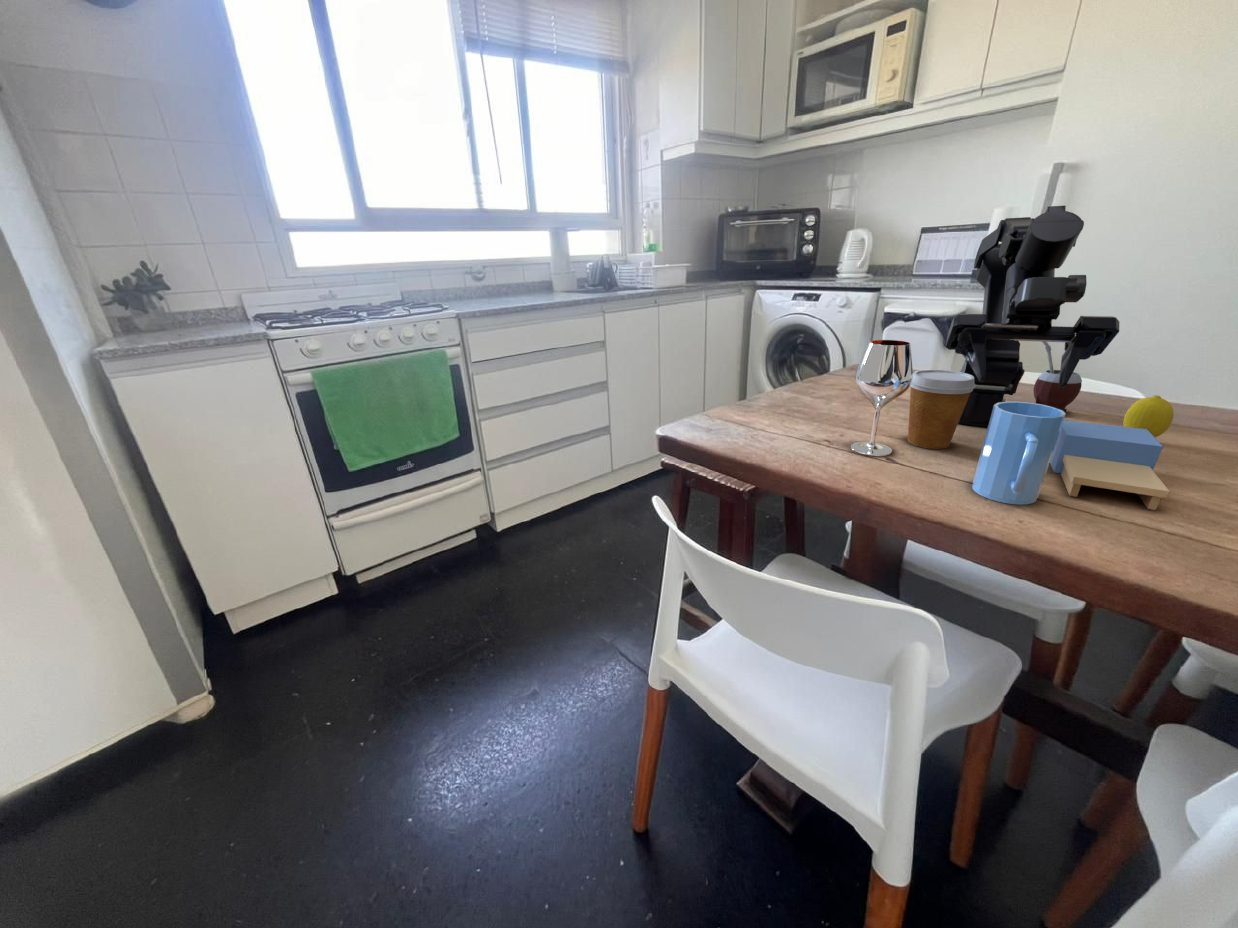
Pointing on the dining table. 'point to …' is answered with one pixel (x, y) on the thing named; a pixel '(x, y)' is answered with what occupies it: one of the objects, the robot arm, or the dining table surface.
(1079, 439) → the blue and wooden stand
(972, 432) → the dining table surface
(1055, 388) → the mate gourd
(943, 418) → the disposable coffee cup
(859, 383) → the wineglass
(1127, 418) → the lemon
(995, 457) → the blue mug
